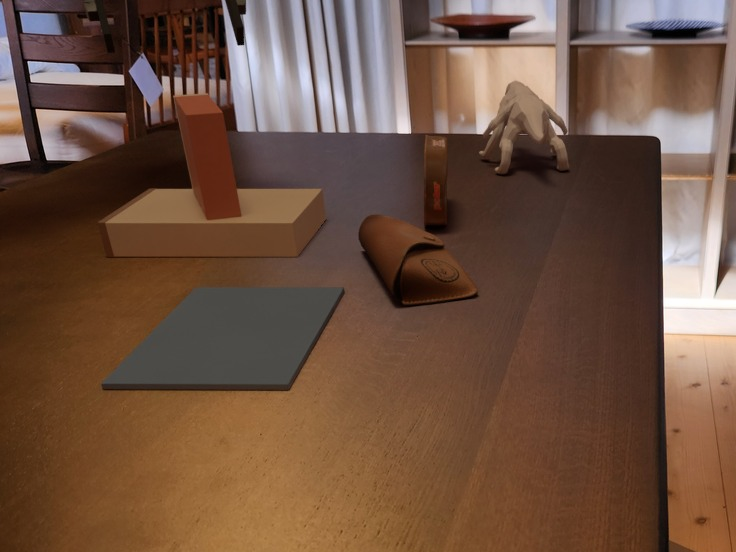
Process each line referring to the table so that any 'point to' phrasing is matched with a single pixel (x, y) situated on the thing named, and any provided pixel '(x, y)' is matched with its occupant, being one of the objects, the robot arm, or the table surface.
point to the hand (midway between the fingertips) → (176, 40)
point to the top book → (208, 155)
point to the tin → (435, 180)
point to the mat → (230, 340)
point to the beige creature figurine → (524, 125)
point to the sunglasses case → (413, 262)
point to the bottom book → (214, 225)
